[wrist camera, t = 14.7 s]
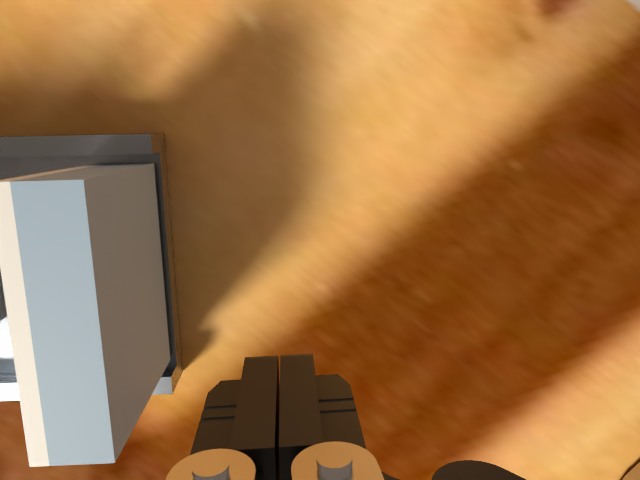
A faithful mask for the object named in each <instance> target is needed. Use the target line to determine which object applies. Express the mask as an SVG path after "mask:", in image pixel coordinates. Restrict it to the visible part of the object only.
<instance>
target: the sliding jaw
mask: <svg viewBox="0 0 640 480" xmlns="http://www.w3.org/2000/svg"><path fill="white" fill-rule="evenodd" d="M0 270H1V277H2V284H3V290H4V297H5V304H6V311H7V317H8V324H9V331H10V338H11V344H12V351H13V358H14V365H15V371H16V378H17V385H18V392H19V398H20V405H21V412H22V419H23V426H24V432H25V439H26V446H27V453H28V459H29V466H30V467H38V466H59V465H80V464H102V463H115V462H116V460H117V458H118V456H119V454H120V453H121V451H122V449H123V447H124V445H125V443H126V441H127V440H128V438H129V436H130V434H131V432H132V430H133V428H134V427H135V425H136V423H137V421H138V419H139V417H140V415H141V414H142V412H143V410H144V408H145V406H146V404H147V402H148V401H149V399H150V397H151V395H152V393H153V391H154V389H155V388H156V386H157V384H158V382H159V380H160V378H161V376H162V375H163V373H164V371H165V369H166V367H167V365H168V363H169V362H170V349H169V337H168V325H167V313H166V301H165V289H164V277H163V265H162V253H161V241H160V229H159V218H158V206H157V194H156V182H155V170H154V163H130V164H90V165H84V166H79V167H73V168H67V169H61V170H55V171H49V172H44V173H38V174H32V175H26V176H20V177H14V178H9V179H3V180H0Z"/></svg>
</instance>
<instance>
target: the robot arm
mask: <svg viewBox="0 0 640 480" xmlns="http://www.w3.org/2000/svg"><path fill="white" fill-rule="evenodd" d="M166 480H399V479H396V478H393V477H391V476H389V475H387V474H385V473H383V472H382V471H381V470H380V468H379V465H378V463H377V461H376V459H375V457H374V456H373V455H372V454H371V453H370V452H369V451H368V450H366V446H365V442H364V438H363V434H362V430H361V426H360V422H359V418H358V414H357V412H356V407H355V403H354V401H353V395H352V391H351V387H350V384H348V383H347V382H346V381H345V380H344V379H343V378H341V377H340V376H339V375H338V374H332V375H315V368H314V360H313V354H297V355H281V357H280V384H279V364H278V356H261V357H245V360H244V366H243V372H242V378H241V380H226V381H220V382H219V383H218V384H217V385H216V386H215V387H214V388H213V389H212V390H211V391H210V392H209V393H208V395H207V398H206V402H205V405H204V410H203V412H202V415H201V421H200V422H199V426H198V429H197V433H196V436H195V440H194V443H193V446H192V450H191V453H190V456H188V457H186V458H184V459H183V460H181V461H180V462H178V463H177V464H176V465H175V466H174V467H173V468H172V469H171V470H170V472H169V474H168V475H167V477H166ZM432 480H526V479H524V478H522V477H520V476H518V475H516V474H514V473H511V472H509V471H507V470H505V469H503V468H501V467H499V466H496V465H493V464H490V463H486V462H481V461H473V460H464V461H456V462H452V463H449V464H446V465H444V466H442V467H441V468H439V469H438V470H437V471H436V472H435V474H434V475H433V477H432ZM622 480H640V462H639V463H638V464H637V465H636V466H635V467H634V468H633V469H632V470H631V471H629V472H628V473H627V474H626V475H625V477H624V478H623V479H622Z"/></svg>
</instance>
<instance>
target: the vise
mask: <svg viewBox="0 0 640 480" xmlns="http://www.w3.org/2000/svg"><path fill="white" fill-rule="evenodd" d="M130 163H154V170H155V182H156V194H157V206H158V218H159V229H160V241H161V253H162V265H163V277H164V289H165V301H166V313H167V325H168V337H169V349H170V362H169V363H168V365H167V367H166V369H165V371H164V373H163V375H162V376H161V378H160V380H159V382H158V384H157V386H156V388H155V389H154V391H153V393H152V395H155V394H173V392H174V389H175V387H176V385H177V383H178V381H179V379H180V376H181V374H182V372H183V368H182V356H181V343H180V330H179V318H178V305H177V292H176V280H175V267H174V255H173V242H172V229H171V217H170V204H169V191H168V179H167V166H166V153H165V141H164V133H154V134H108V135H61V136H15V137H0V180H3V179H9V178H14V177H20V176H26V175H32V174H38V173H44V172H49V171H55V170H61V169H67V168H73V167H79V166H84V165H90V164H130ZM0 277H1V270H0ZM1 284H2V277H1ZM2 291H3V298H4V305H5V312H6V318H4V319H3V320H1V321H0V401H12V400H20V398H19V392H18V385H17V378H16V371H15V365H14V358H13V351H12V344H11V338H10V331H9V324H8V317H7V311H6V304H5V297H4V290H3V284H2Z"/></svg>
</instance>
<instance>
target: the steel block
mask: <svg viewBox="0 0 640 480" xmlns="http://www.w3.org/2000/svg"><path fill="white" fill-rule="evenodd" d="M4 318H6V312H5V305H4V298H3V291H2V284H1V277H0V321H1V320H3V319H4Z"/></svg>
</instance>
